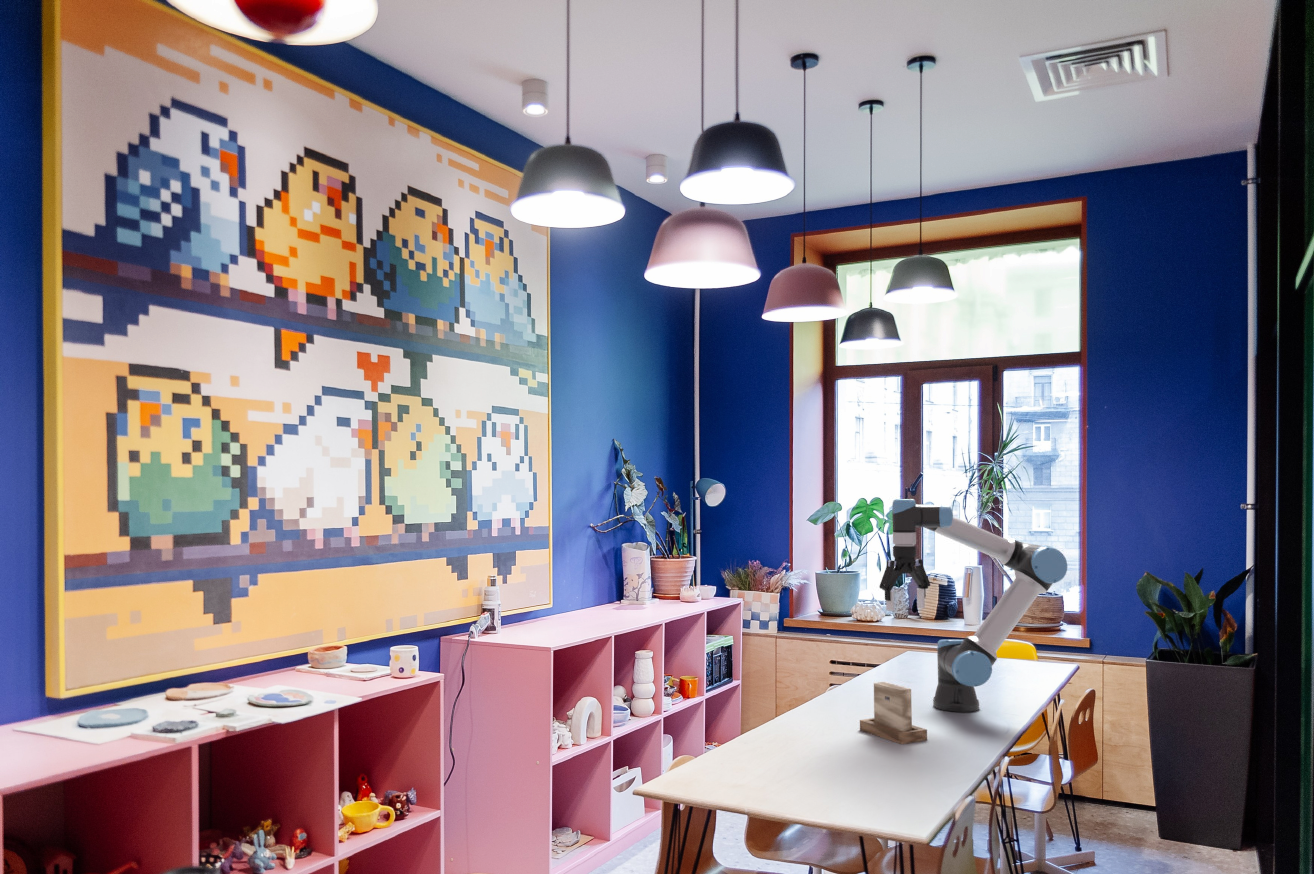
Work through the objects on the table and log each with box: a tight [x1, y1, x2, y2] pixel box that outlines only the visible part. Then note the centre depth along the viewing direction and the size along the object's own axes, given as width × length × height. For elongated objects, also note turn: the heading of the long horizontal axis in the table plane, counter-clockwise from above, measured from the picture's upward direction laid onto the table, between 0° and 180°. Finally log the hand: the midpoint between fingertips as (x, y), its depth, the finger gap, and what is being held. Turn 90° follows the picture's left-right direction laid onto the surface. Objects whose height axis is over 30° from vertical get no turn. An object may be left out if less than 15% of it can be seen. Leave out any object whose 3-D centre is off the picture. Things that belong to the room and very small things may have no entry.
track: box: [859, 717, 928, 745], centre depth 277 cm, size 10×18×3 cm, turn 28°
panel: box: [873, 681, 913, 732], centre depth 278 cm, size 4×12×14 cm, turn 28°
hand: (905, 609), depth 303 cm, fingers open, 13 cm apart
